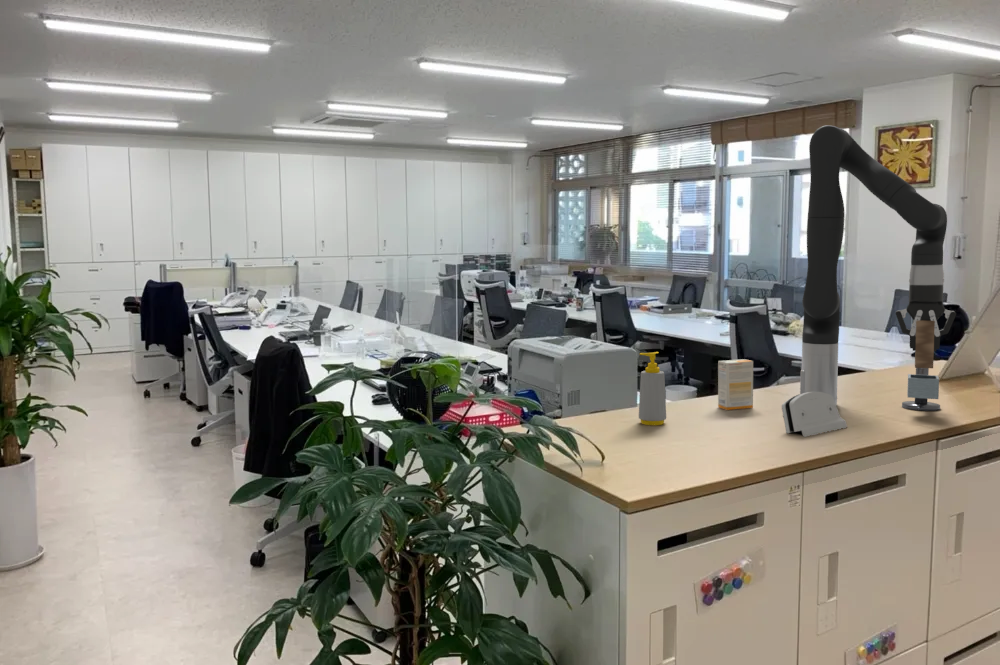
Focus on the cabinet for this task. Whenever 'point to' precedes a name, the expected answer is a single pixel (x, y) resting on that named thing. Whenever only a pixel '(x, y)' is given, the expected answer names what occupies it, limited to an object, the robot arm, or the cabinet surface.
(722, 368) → the supplement box
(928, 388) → the cup bracket
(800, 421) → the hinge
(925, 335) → the rail post
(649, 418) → the soap bottle
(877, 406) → the cabinet surface
